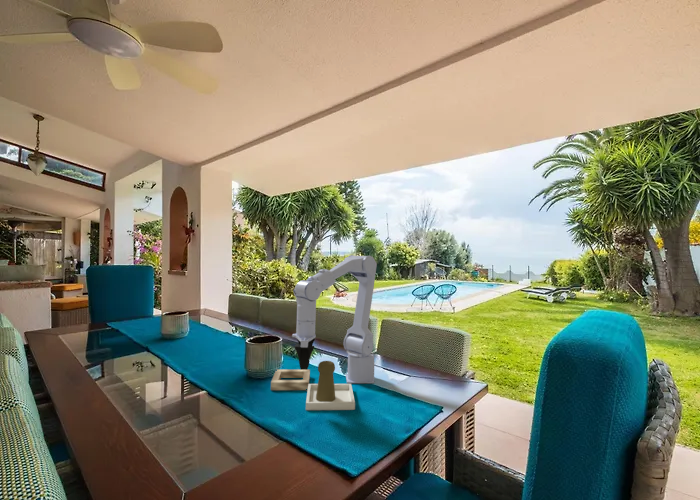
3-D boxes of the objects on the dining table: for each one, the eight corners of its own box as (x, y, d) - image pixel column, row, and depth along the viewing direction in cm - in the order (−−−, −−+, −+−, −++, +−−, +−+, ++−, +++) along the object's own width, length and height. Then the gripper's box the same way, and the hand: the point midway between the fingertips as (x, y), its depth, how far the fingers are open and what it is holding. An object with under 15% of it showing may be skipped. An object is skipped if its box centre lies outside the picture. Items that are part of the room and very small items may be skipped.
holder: (309, 376, 121) (310, 369, 121) (308, 390, 109) (308, 382, 109) (276, 376, 120) (276, 369, 120) (270, 390, 108) (270, 382, 108)
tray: (351, 389, 110) (351, 383, 110) (354, 409, 96) (355, 402, 96) (308, 390, 109) (308, 383, 109) (305, 410, 95) (305, 403, 95)
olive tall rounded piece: (330, 403, 99) (331, 366, 99) (312, 400, 101) (313, 363, 101) (338, 395, 104) (339, 360, 104) (321, 392, 106) (321, 357, 107)
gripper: (294, 315, 109) (293, 357, 109) (290, 324, 95) (289, 373, 95) (316, 315, 110) (315, 357, 110) (315, 325, 95) (314, 373, 95)
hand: (304, 364), depth 102 cm, fingers open, 7 cm apart
